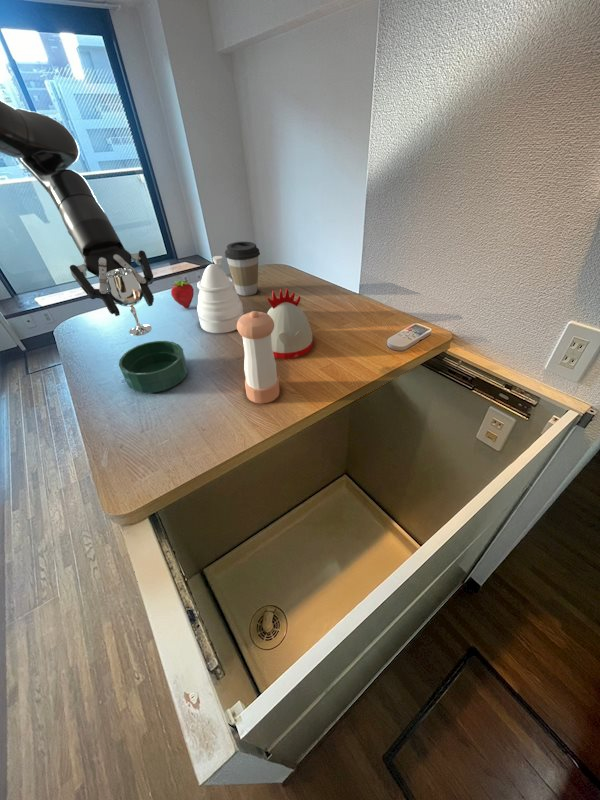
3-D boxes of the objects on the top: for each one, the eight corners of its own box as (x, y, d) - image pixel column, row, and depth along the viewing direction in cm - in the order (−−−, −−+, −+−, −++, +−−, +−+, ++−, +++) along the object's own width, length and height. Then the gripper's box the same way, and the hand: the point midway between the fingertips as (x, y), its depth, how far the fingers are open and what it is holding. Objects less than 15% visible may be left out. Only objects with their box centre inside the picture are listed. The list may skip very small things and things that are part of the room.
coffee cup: (268, 287, 115) (265, 242, 105) (253, 300, 107) (248, 253, 97) (240, 283, 118) (235, 239, 109) (224, 295, 111) (216, 248, 101)
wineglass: (119, 335, 67) (94, 276, 59) (138, 322, 71) (116, 265, 63) (143, 339, 65) (121, 280, 57) (160, 325, 69) (142, 268, 61)
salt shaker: (248, 406, 68) (235, 323, 56) (244, 385, 74) (232, 305, 61) (282, 400, 70) (277, 318, 57) (276, 380, 75) (270, 301, 62)
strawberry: (171, 311, 102) (162, 279, 96) (187, 301, 107) (179, 271, 101) (186, 314, 100) (177, 282, 94) (201, 305, 105) (194, 273, 99)
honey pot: (228, 308, 103) (218, 248, 91) (253, 322, 96) (245, 258, 84) (192, 322, 96) (176, 259, 85) (216, 338, 89) (202, 271, 78)
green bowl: (118, 395, 71) (108, 375, 68) (139, 360, 82) (132, 341, 78) (180, 394, 72) (173, 374, 68) (194, 359, 82) (189, 340, 78)
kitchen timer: (256, 334, 91) (250, 281, 81) (304, 328, 93) (304, 275, 83) (265, 362, 80) (259, 305, 71) (318, 354, 83) (320, 297, 73)
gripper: (44, 223, 56) (93, 312, 57) (129, 210, 62) (172, 290, 64) (53, 249, 62) (97, 328, 63) (129, 234, 69) (168, 306, 70)
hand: (134, 308), depth 63 cm, fingers closed on wineglass, 6 cm apart
